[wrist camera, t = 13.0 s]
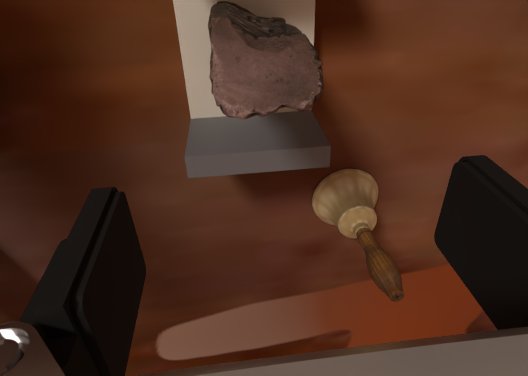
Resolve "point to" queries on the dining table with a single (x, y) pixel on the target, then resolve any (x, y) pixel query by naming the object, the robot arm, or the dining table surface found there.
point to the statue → (260, 64)
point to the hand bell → (358, 221)
